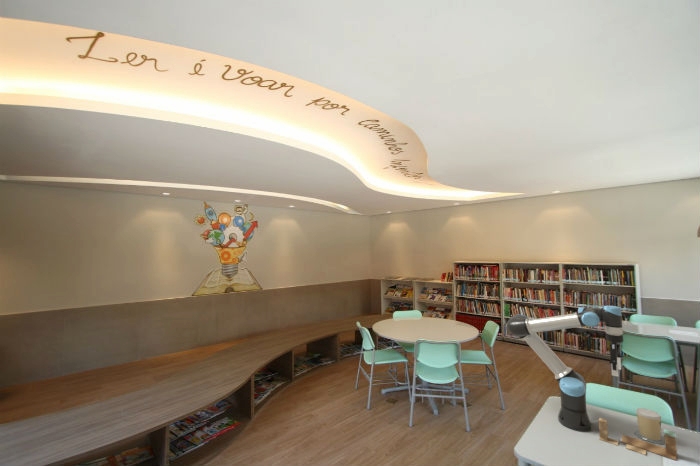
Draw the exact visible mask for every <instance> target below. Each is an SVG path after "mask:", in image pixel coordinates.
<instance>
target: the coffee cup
mask: <svg viewBox="0 0 700 466" xmlns="http://www.w3.org/2000/svg"><path fill="white" fill-rule="evenodd" d="M635 413H636V417H637V418H636V419H637V425H638V429H639V432H640V434H641V435H642V436H643V437H645V438H647V439H650V440H654V441H659V440H660V439H661V436H662V435H661V434H662V416H661V414H660V413H658V412H656V411H654V410H651V409H648V408H643V407H638V408H636V409H635Z"/></svg>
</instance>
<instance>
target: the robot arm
mask: <svg viewBox="0 0 700 466" xmlns="http://www.w3.org/2000/svg"><path fill="white" fill-rule="evenodd" d="M622 315H623V314H622V310H621V308H620V307H619V306H617V305H616V306H615V305H604V306H603V308H593V307H592V308H591V307H582V306H581V307H578V309H577V312H576V313H569V314H568V313H567V314H561V315H555V316H549V317H548V316H547V317H540V318H535V319H529V318H528V317H527V316H526V315H524V314H515V315H513V316H511V317H510V318H509V319H508V321H507V322H506V330H507V331H508V332H509V333H510V334H511V335H512V336H514V337H518V339H520V340H521V341H525V342H526V344H527V345H528V346H529V347H530V348H531V349H532V351H534V353H536V355H537V356H538V358H540V359H541V361H542V362H543V363H544V364H545V365H546V366H547V368H548V369H549V370H550V371H551V372H552V373H553V374H554V379H555V380H556V382H557V383H558V384H559V390H560V391H559V393H560V394H559V395H560V409H559V412H558V415H557V420H558V422H559V423H560V424H561V425H562V426H564V427H566V428H568V429H570V430H572V431H573V430H574V431H578V432H590V431H592V429H593V428H592V427H593V426H592V421H591V419H590V417H589V415H588V411H587V398H586V397H587V382H586V381H585V379H584V377H583V376H582V375H581V374H579V373H578V372H576V371H575V370H574V369H573V368H572V367H569V366H567V365H566V364H565V363H564V362H563V360H561V358H559V356H558V355H557V354H556V353H555V352H554V351H553V349H552V348H550V346H549V345H548V344H547V343H546V342H545V341H544V340H543V338H541V337H540V335H538V333H542V332H549V331H556V330H557V331H558V330H566V329H572V328H573V329H574V328H581V327H590V328H594V327H597V326H598V325H599V323H604V332H605V340H606V341H608V342H610V343H609V348H610V349H609V350H610V361H609V362H608V363H609V364H610V366H611V368H610V369H611V376H614V377H617V378H618V377H619V371H620V370H622V360H621V359H622V358H623V356H622V354H621V344H620V343H624V333H623V332H625V329H624V328H623V316H622Z"/></svg>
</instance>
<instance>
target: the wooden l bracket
mask: <svg viewBox="0 0 700 466" xmlns="http://www.w3.org/2000/svg"><path fill="white" fill-rule="evenodd" d="M663 435H664V438H665V444H664V447H663V446H661V445H659V444H658V445H657V444H656V443H652V442H649V441H646V440H643V439H639V438H635V437H632V436H629V435H626V434H622V435H621V441H620V442H621V443H622V444H625V445H626V444H629V445H632V446H635V447H638V448H641V449H644V450H646V452H650V453H652V454H655V455H659V456H662V457H665V458H668V459H671V460H673V461H677V458H678V451H677V439H676V438H677V433H676V432H675V431H672V430H669V429H665V428H664V429H663Z"/></svg>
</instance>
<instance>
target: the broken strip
mask: <svg viewBox="0 0 700 466" xmlns="http://www.w3.org/2000/svg"><path fill="white" fill-rule="evenodd" d="M598 428H599V429H598V430H599V433H598V434H599V440H600V441H603V442H606V443H609V444H612V445H615V446H617V447H618V446H619V444H620V443H619V440H616V439H613V438H610V437H609V433H608V432H609V429H608V420H607V419H604V418H601V417H599V418H598ZM625 449H626V450H628V451H632V452H634V453H638V454H640V455H644V456H647V451H646V450H644V449H641V448H638V447H635V446H632V445H629V444H625Z"/></svg>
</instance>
